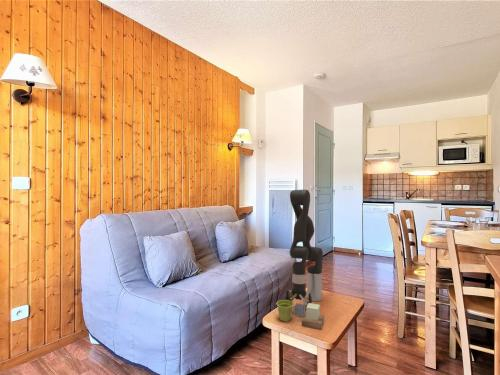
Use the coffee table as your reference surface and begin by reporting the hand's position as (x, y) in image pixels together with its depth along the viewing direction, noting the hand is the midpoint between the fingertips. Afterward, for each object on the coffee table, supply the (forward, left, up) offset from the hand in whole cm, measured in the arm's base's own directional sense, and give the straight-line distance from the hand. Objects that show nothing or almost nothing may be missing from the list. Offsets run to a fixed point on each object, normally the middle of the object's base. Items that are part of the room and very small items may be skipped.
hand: (298, 309), depth 160 cm
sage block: (+8, +9, +1) cm, 12 cm away
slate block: (0, 0, -3) cm, 3 cm away
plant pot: (+9, -6, -3) cm, 11 cm away
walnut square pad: (+8, +9, -3) cm, 12 cm away
